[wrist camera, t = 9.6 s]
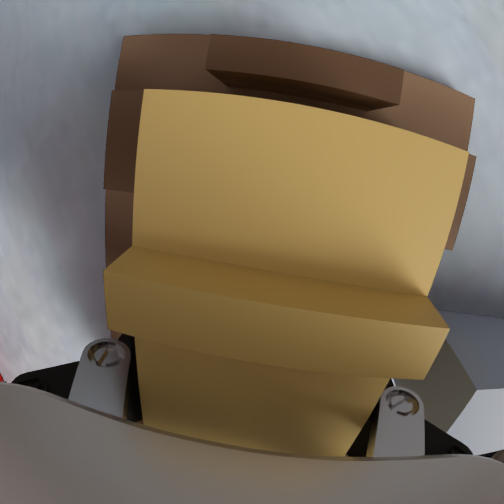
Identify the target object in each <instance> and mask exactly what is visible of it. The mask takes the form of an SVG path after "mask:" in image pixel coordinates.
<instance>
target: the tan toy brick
mask: <svg viewBox="0 0 504 504" xmlns="http://www.w3.org/2000/svg"><path fill="white" fill-rule="evenodd" d="M468 155H469V152H468V151H465V150H462V149H460V148H457V147H454V146H452V145H449V144H446V143H443V142H440V141H438V140H435V139H432V138H429V137H426V136H423V135H420V134H417V133H413V132H410V131H407V130H404V129H400V128H397V127H394V126H390V125H387V124H383V123H379V122H376V121H372V120H368V119H364V118H360V117H356V116H352V115H348V114H343V113H339V112H335V111H330V110H325V109H320V108H316V107H310V106H305V105H300V104H294V103H288V102H282V101H276V100H270V99H263V98H256V97H248V96H240V95H231V94H222V93H211V92H199V91H184V90H163V89H144V94H143V101H142V109H141V117H140V126H139V135H138V145H137V156H136V169H135V184H134V202H133V232H132V246H131V247H130V248H129V249H128V250H127V251H126V252H124V253H123V254H122V255H121V256H120V257H119V258H117V259H116V260H115V261H114V262H113V263H112V264H110V265H109V266H108V267H107V268H106V269H105V270H104V271H103V276H104V292H105V304H106V315H107V325H108V329H109V330H112V331H116V332H119V333H123V334H127V335H130V336H134V337H135V348H136V361H137V372H138V382H139V391H140V400H141V408H142V416H143V423H144V425H146V426H150V427H153V428H157V429H161V430H164V431H168V432H172V433H176V434H180V435H185V436H189V437H193V438H198V439H203V440H207V441H212V442H218V443H223V444H228V445H234V446H240V447H246V448H253V449H260V450H267V451H275V452H284V453H294V454H306V455H320V456H339V457H344V456H345V454H346V453H347V451H348V450H349V448H350V447H351V445H352V444H353V442H354V440H355V439H356V437H357V436H358V434H359V432H360V431H361V429H362V428H363V426H364V424H365V423H366V421H367V419H368V418H369V416H370V414H371V412H372V411H373V409H374V407H375V406H376V404H377V402H378V400H379V398H380V397H381V395H382V393H383V391H384V389H385V387H386V386H387V384H388V382H389V380H390V378H394V379H414V380H424V378H425V377H426V375H427V373H428V371H429V369H430V368H431V366H432V364H433V362H434V360H435V358H436V356H437V354H438V352H439V351H440V349H441V347H442V345H443V343H444V341H445V339H446V337H447V334H448V332H449V330H450V328H449V326H448V325H447V324H446V322H445V321H444V319H443V318H442V316H441V315H440V314H439V312H438V311H437V309H436V308H435V307H434V305H433V304H432V302H431V301H430V300H429V298H428V297H427V296H428V294H429V291H430V288H431V286H432V283H433V280H434V278H435V275H436V272H437V269H438V266H439V264H440V261H441V258H442V255H443V252H444V248H445V245H446V242H447V239H448V236H449V232H450V229H451V226H452V222H453V219H454V215H455V211H456V208H457V204H458V200H459V196H460V192H461V188H462V183H463V179H464V175H465V170H466V165H467V160H468Z"/></svg>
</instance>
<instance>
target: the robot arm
mask: <svg viewBox="0 0 504 504" xmlns="http://www.w3.org/2000/svg"><path fill="white" fill-rule="evenodd" d="M141 420H143V416H142V408H141V400H140V391H139V382H138V372H137V361H136V348H135V337H134V336H130V335H127V334H123V333H122V335H121V336H120V337H119V339H118V340H116V339H111V338H103V339H98V340H95V341H93V342H91V343H89V344H88V345H87V346H86V347H85V348H84V350H83V352H82V355H81V358H80V361H77V362H73V363H68V364H64V365H59V366H55V367H50V368H46V369H41V370H36V371H32V372H27V373H24V374H21V375H19V376H18V377H16V378H15V379H14V380H13V381H12V383H7V382H6V381H1V382H0V504H504V463H502V462H500V461H497V460H495V459H492V458H487V457H483V456H478V455H473V453H472V451H471V450H470V449H469V447H467V446H466V445H465V444H463V443H462V442H460V441H459V440H457V439H455V438H454V437H452V436H451V435H449V434H447V433H446V432H444V431H443V430H441V429H440V428H438V427H436V426H435V425H433V424H432V423H430V422H429V421H427V420H425V419H424V406H423V402H422V400H421V399H420V397H419V396H418V395H417V394H416V393H415V392H413V391H411V390H410V389H407V388H404V387H399V386H394V385H393V382H392V379H391V378H390V380H389V382H388V384H387V386H386V387H385V389H384V391H383V393H382V395H381V397H380V398H379V400H378V402H377V404H376V406H375V407H374V409H373V411H372V412H371V414H370V416H369V418H368V419H367V421H366V423H365V424H364V426H363V428H362V429H361V431H360V432H359V434H358V436H357V437H356V439H355V440H354V442H353V444H352V445H351V447H350V448H349V450H348V451H347V453H346V454H345V457H339V456H320V455H306V454H294V453H284V452H275V451H267V450H260V449H253V448H246V447H240V446H234V445H228V444H223V443H218V442H212V441H207V440H203V439H198V438H193V437H189V436H185V435H180V434H176V433H172V432H168V431H164V430H161V429H157V428H153V427H150V426H146V425H143V424H139V421H141Z"/></svg>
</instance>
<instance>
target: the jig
mask: <svg viewBox="0 0 504 504" xmlns="http://www.w3.org/2000/svg"><path fill="white" fill-rule="evenodd" d="M144 89H163V90H184V91H199V92H211V93H222V94H231V95H240V96H248V97H256V98H263V99H270V100H276V101H282V102H288V103H294V104H300V105H305V106H310V107H316V108H320V109H325V110H330V111H335V112H339V113H343V114H348V115H352V116H356V117H360V118H364V119H368V120H372V121H376V122H379V123H383V124H387V125H390V126H394V127H397V128H400V129H404V130H407V131H410V132H413V133H417V134H420V135H423V136H426V137H429V138H432V139H435V140H438V141H440V142H443V143H446V144H449V145H452V146H454V147H457V148H460V149H462V150H465V151H467V150H468V144H469V139H470V132H471V126H472V119H473V111H474V103H475V99H474V98H472V97H470V96H468V95H466V94H463V93H461V92H459V91H456V90H454V89H452V88H449V87H447V86H444V85H442V84H439V83H437V82H434V81H432V80H429V79H426V78H424V77H421V76H418V75H415V74H412V73H410V72H407V71H404V70H403V69H400V68H397V67H393V66H390V65H387V64H384V63H380V62H377V61H373V60H370V59H366V58H362V57H359V56H355V55H351V54H347V53H342V52H338V51H334V50H329V49H324V48H319V47H314V46H309V45H303V44H298V43H292V42H285V41H278V40H271V39H263V38H254V37H244V36H233V35H218V34H211V35H202V34H152V35H132V36H124V38H123V43H122V48H121V54H120V59H119V65H118V71H117V77H116V84H115V90H112V95H111V103H110V111H109V120H108V130H107V141H106V154H105V170H104V189H106V203H105V248H106V268H107V267H108V266H109V265H110V264H112V263H113V262H114V261H115V260H116V259H117V258H119V257H120V256H121V255H122V254H123V253H124V252H126V251H127V250H128V249H129V248H130V247H131V246H132V232H133V202H134V184H135V169H136V156H137V145H138V135H139V126H140V117H141V109H142V101H143V94H144ZM475 161H476V156H473V155H471V154H469V155H468V160H467V165H466V170H465V175H464V179H463V183H462V188H461V192H460V196H459V200H458V204H457V208H456V211H455V215H454V219H453V222H452V226H451V229H450V232H449V236H448V239H447V242H446V245H445V248H444V249H448V250H453V247H454V243H455V240H456V237H457V234H458V230H459V227H460V223H461V220H462V216H463V213H464V209H465V205H466V201H467V197H468V193H469V189H470V185H471V180H472V176H473V171H474V166H475ZM121 335H122V333H119V332H116V331H112V330H111V338H112V339H116V340H118V339H119V337H120V336H121ZM139 424H143V425H144V423H143V420H141V421H139Z"/></svg>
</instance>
